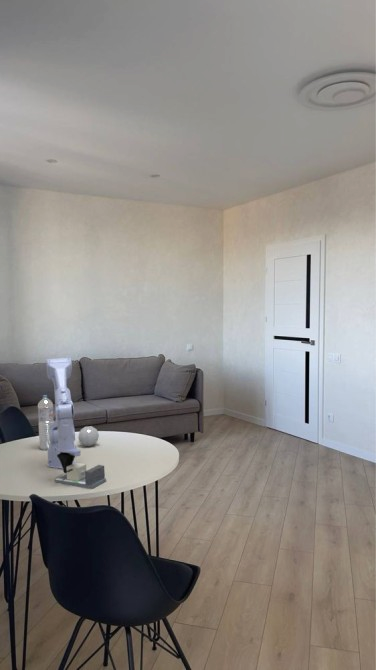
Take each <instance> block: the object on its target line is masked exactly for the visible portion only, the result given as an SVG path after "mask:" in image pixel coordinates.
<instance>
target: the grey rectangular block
mask: <svg viewBox="0 0 376 670" xmlns="http://www.w3.org/2000/svg"><path fill="white" fill-rule="evenodd" d="M105 472H106V471H105V465H103V464H98V465H96V466H94V467H92V468H89V469H86V471H85V484H86V485H93V484H95V483H96V482H98V481H100V480H102V479H104V478H106V476H105V474H106V473H105Z"/></svg>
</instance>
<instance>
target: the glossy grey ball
mask: <svg viewBox="0 0 376 670" xmlns="http://www.w3.org/2000/svg"><path fill="white" fill-rule="evenodd" d="M77 437H78V441H79V443H80V445H83V446H84V447H85V448H87V447H88V448H89V447H93V446H95V445H96V444H97V443H98V442H99V438H100V434H99V431H98V429H97V428H95V427H94V426H93V425H91V426H88V425H87V426H84V427H83V428H80V430H79V433H78V436H77Z"/></svg>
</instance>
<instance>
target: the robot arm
mask: <svg viewBox="0 0 376 670" xmlns="http://www.w3.org/2000/svg"><path fill="white" fill-rule="evenodd" d="M45 361H46V362H45V364H46V365H45V367H46V377H47V379H48V380H51V381H52V383H53V388H54V390H53V391H54V406H55V407H54V408H55V409H54V412H55V420H54V422H53V423H52V424H51V425H50V430H49V434H50V443H51V444H50V446H49V447H48V450H47V465H46V467H47V468H55V469H61V470H63V474H67V466H69V465H72V464H74V463H78V462H77V461H74V459H75V458H77V457H80V456H81V450H80V449H78V448H77V445H75V441H76V431H75V430H76V429H75V425H74V418H75V406H74V403H73V401H72V395H71V390H70V389H69V388H68V387H67V380H68V379H69V378H71V375H72V370H73V365H72V364H73V363H72V358H71V357H61V358H60V357H58V358H47V359H46V360H45Z"/></svg>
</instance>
